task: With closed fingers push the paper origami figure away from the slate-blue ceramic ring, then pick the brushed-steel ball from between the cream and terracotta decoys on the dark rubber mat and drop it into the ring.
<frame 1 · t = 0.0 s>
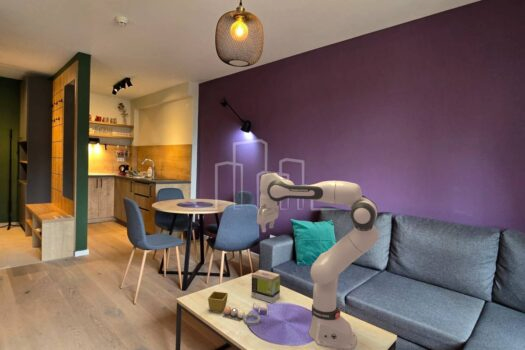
hand: (267, 230, 155), 48 cm above the table, fingers open, 8 cm apart
race ring: (251, 322, 155), on the table
origami figure: (260, 313, 165), on the table
tea box: (265, 297, 183), on the table
parts mat: (234, 317, 159), on the table
flower pot: (217, 311, 166), on the table
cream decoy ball: (241, 317, 157), point 1 cm above the table, touching parts mat
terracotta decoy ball: (227, 314, 161), point 1 cm above the table, touching parts mat
steel ball: (234, 315, 159), point 1 cm above the table, touching parts mat
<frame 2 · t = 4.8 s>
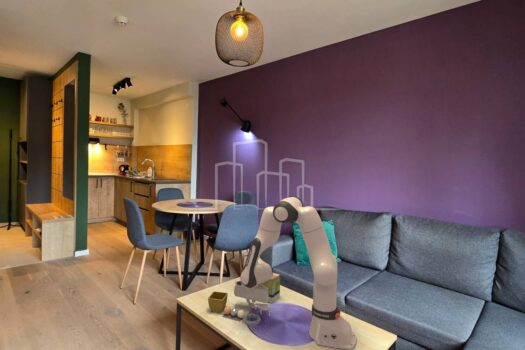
hand: (250, 306, 167), 2 cm above the table, fingers closed
origami figure: (262, 314, 164), on the table, touching gripper
everything else where it was.
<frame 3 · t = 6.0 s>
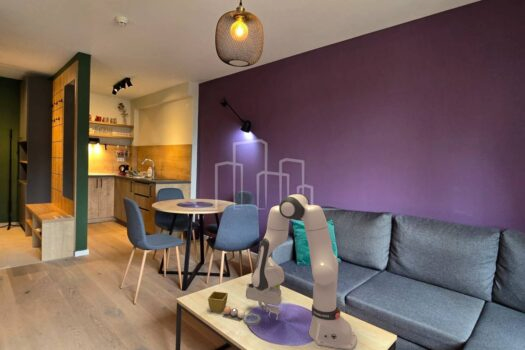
hand: (263, 309, 164), 2 cm above the table, fingers closed
origami figure: (272, 316, 161), on the table, touching gripper
everything else where it was.
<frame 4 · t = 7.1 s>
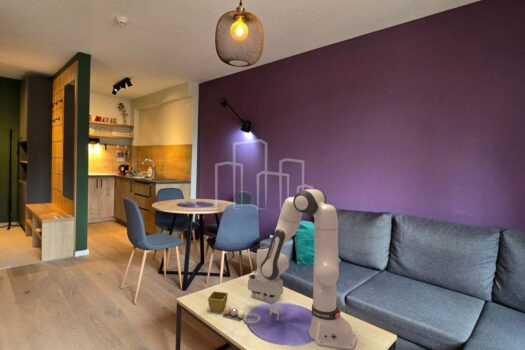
hand: (265, 300, 164), 7 cm above the table, fingers closed
origami figure: (274, 317, 161), on the table
everything else where it was.
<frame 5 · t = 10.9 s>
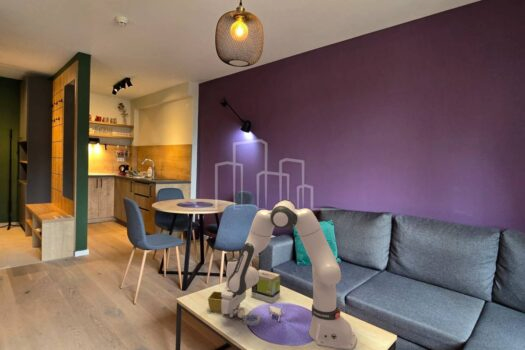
hand: (234, 313, 159), 2 cm above the table, fingers closed on steel ball, 4 cm apart
origami figure: (274, 318, 160), on the table
steel ball: (234, 315, 159), point 1 cm above the table, touching gripper, parts mat
everything else where it was.
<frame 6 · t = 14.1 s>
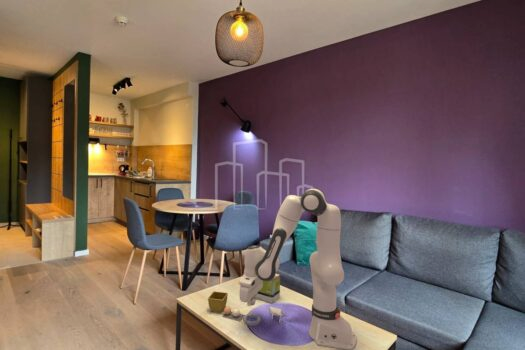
hand: (251, 303, 154), 10 cm above the table, fingers closed on steel ball, 4 cm apart
origami figure: (275, 319, 159), on the table
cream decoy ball: (239, 313, 158), point 3 cm above the table, tilted 91°, touching parts mat
steel ball: (251, 305, 154), point 9 cm above the table, touching gripper
everything else where it was.
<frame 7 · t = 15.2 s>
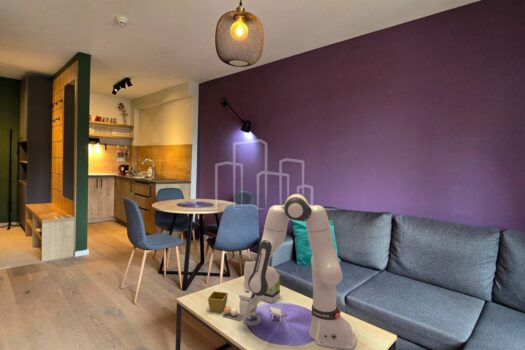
hand: (251, 315, 154), 4 cm above the table, fingers closed on steel ball, 4 cm apart
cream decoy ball: (236, 310, 159), point 4 cm above the table, tilted 126°, touching parts mat
steel ball: (251, 317, 155), point 3 cm above the table, touching gripper
everything else where it was.
when the fingers open (4 cm above the table, at t = 15.6 s): steel ball drops 2 cm, resting on race ring.
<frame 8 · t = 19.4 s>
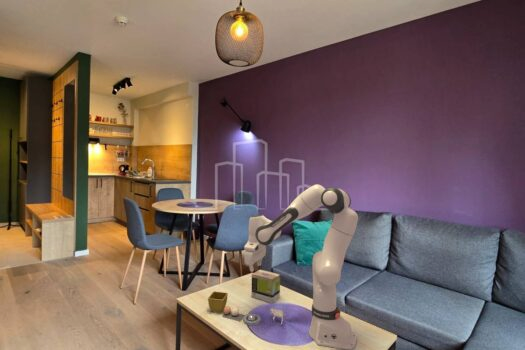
hand: (255, 268, 166), 24 cm above the table, fingers open, 8 cm apart
origami figure: (276, 320, 158), on the table
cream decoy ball: (238, 310, 159), point 4 cm above the table, tilted 118°, touching parts mat
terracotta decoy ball: (227, 314, 161), point 1 cm above the table, tilted 15°, touching parts mat
steel ball: (251, 321, 155), resting on race ring, tilted 18°
everything else where it was.
at the end: steel ball 0.0 cm off-centre on the race ring, point 0.4 cm above the race ring's base; origami figure moved 11.2 cm from its start; the gripper is holding nothing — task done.
